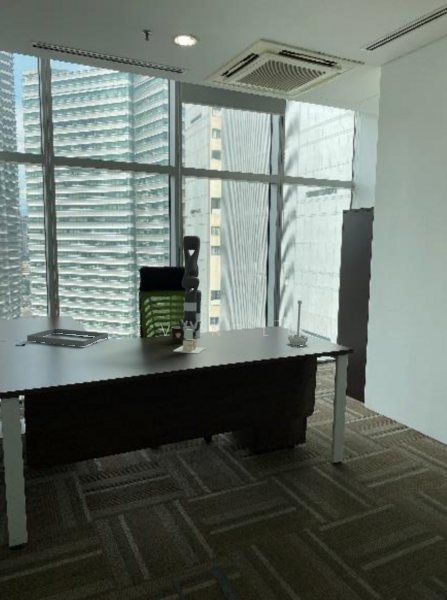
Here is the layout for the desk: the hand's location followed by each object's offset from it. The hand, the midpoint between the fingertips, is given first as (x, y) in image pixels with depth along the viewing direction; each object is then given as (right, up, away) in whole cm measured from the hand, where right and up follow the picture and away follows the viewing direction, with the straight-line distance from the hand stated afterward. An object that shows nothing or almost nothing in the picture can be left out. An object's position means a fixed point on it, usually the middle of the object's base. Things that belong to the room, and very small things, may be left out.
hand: (189, 337), depth 273 cm
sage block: (0, -1, 0) cm, 0 cm away
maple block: (0, -8, +1) cm, 8 cm away
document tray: (-80, -4, +19) cm, 83 cm away
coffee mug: (-8, -6, +23) cm, 25 cm away
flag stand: (+71, -7, +29) cm, 77 cm away
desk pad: (0, -8, +2) cm, 9 cm away
